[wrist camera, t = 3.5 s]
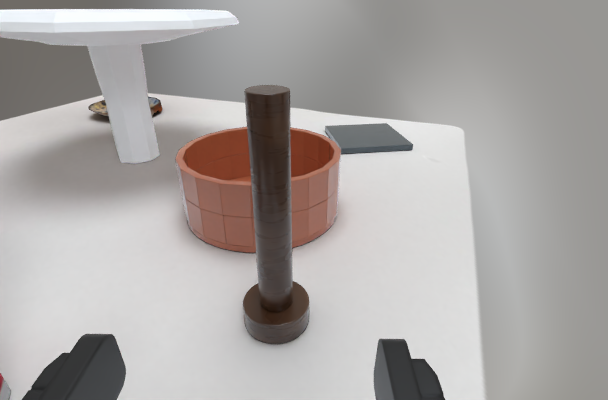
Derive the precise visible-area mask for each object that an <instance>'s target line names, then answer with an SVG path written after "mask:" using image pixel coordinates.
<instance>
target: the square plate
mask: <svg viewBox="0 0 608 400" xmlns="http://www.w3.org/2000/svg"><path fill="white" fill-rule="evenodd" d="M325 131H326V133H327V134H328V136H329V137H330V139H331V140H333V141H334V142H335V143H336V144H337V145H338V147H339V148H340V150H341V154H347V153H365V152H384V151H402V150H412V148H413V144H412V143H410V142H409V141H408V140H407V139H405V138H404V137H403V136H402V135H400V134H399V133H398V132H397V131H395V130H394V129H393V128H392V127H390V126H389V125H388V124H387V123H385V124H362V125H339V126H325Z"/></svg>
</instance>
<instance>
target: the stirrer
mask: <svg viewBox="0 0 608 400" xmlns="http://www.w3.org/2000/svg"><path fill="white" fill-rule="evenodd" d="M245 105H246V119H247V132H248V146H249V160H250V174H251V188H252V202H253V215H254V229H255V243H256V257H257V271H258V284H256V285H254V286H253V287H252V288H251V289H250V290H249V291H248V292H247V294H246V295H245V297H244V301H243V308H244V318H245V325H246V328H247V330H248V332H249V333H250V334H251V335H252V336H253V337H254V338H255V339H257V340H259V341H262V342H265V343H270V344H280V343H285V342H289V341H291V340H293V339H295V338H297V337H298V336H299V335H301V334H302V333H303V331H304V330H305V329H306V327H307V325H308V321H309V297H308V294H307V292H306V291H305V289H304V288H303V287H302V286H301V285H299V284H298V283H296V282H294V281H292V211H291V137H290V90H289V88H287V87H283V86H277V85H276V86H275V85H260V86H253V87H249V88H247V89H245Z"/></svg>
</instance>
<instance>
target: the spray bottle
mask: <svg viewBox="0 0 608 400" xmlns="http://www.w3.org/2000/svg"><path fill="white" fill-rule="evenodd" d="M10 392H11V390H10V388H9V386H8V385H7V383H6V382H5V380H4V378H3V377H2V375H1V373H0V400H9V396H10Z"/></svg>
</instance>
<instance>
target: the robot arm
mask: <svg viewBox="0 0 608 400" xmlns="http://www.w3.org/2000/svg"><path fill="white" fill-rule="evenodd" d="M125 375H126V368H125V364H124V361H123V359H122V356H121V353H120V350H119V347H118V345H117V342H116V339H115V337H114V336H113V335H112V334H85V335H83V336H82V337H81V338H80V339H79V340H78V342H77V343H76V345H75V346H74V348H73V349H72V351H71V352H70V353H62V354H61V355H60V356H59V357H58V358H56V359H55V360H54V361H53V362H52V363H51V364H49V365H48V366H47V367H46V368H45V369H44V370H43V372H42V373H41V374H40V376H39V377H38V378H37V380H36V381H35V383H34V384H33V385H32V388H31V390H29V391H28V392H27V394H26V395H25V396H24V398H23V399H22V400H117V398H118V396H119V394H120V391H121V389H122V387H123V384H124V381H125ZM374 389H375V396H376V400H445V398H444V396H443V391H442V388H441V386H440V383H439V380H438V377H437V375H436V373H435V372H434V371H433V370H432V368H431V367H430V366H429V364H428V363H427V362H426V361H425V359H411V356H410V353H409V349H408V346H407V343H406V341H405V340H404V339H379V341H378V347H377V354H376V361H375V368H374Z"/></svg>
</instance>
